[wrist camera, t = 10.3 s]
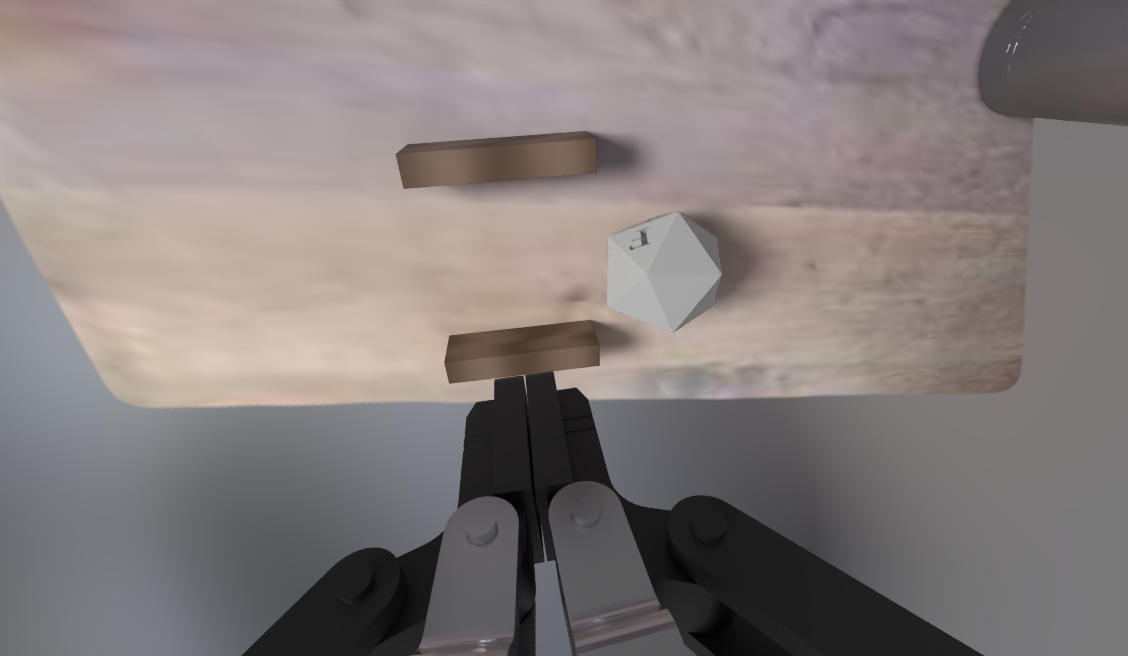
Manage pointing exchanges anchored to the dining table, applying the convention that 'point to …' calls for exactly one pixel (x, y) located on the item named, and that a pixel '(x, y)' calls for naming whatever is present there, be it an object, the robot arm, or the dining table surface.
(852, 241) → the dining table surface
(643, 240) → the die
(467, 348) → the pair of wooden rails
